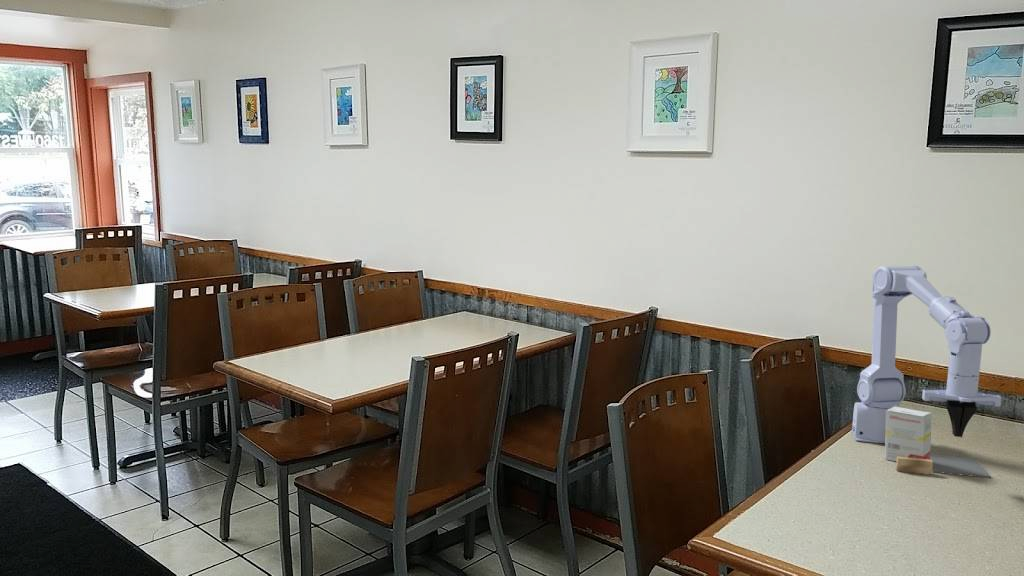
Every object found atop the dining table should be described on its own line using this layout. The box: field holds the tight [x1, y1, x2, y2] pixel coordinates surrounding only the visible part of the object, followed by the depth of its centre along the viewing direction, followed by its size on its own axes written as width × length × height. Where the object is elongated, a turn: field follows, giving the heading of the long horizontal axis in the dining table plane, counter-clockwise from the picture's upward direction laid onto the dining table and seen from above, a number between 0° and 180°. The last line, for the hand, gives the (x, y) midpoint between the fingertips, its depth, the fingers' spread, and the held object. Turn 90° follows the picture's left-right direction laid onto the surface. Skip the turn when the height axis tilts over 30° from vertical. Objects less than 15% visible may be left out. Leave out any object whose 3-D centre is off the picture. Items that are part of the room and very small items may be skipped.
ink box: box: [884, 406, 933, 463], centre depth 179 cm, size 9×5×12 cm, turn 44°
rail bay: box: [895, 456, 933, 475], centre depth 179 cm, size 7×14×3 cm, turn 164°
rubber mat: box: [930, 453, 992, 479], centre depth 177 cm, size 12×11×1 cm
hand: (957, 435), depth 167 cm, fingers closed
